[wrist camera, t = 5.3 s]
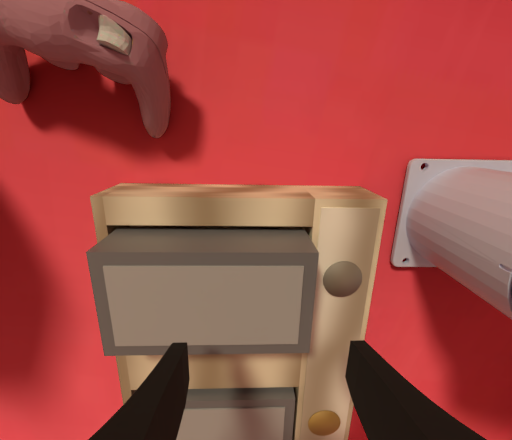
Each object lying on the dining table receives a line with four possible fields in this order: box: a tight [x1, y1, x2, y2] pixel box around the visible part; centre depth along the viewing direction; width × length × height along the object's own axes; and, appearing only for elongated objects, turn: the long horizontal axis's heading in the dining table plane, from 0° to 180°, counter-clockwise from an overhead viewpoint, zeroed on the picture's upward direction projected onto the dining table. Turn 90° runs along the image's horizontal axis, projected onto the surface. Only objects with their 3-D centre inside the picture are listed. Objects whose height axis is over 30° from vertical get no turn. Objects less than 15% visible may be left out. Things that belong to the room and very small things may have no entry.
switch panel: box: [90, 183, 387, 440], centre depth 21 cm, size 16×22×4 cm
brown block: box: [176, 387, 295, 440], centre depth 22 cm, size 11×6×4 cm, turn 89°
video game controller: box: [0, 0, 171, 138], centre depth 14 cm, size 10×5×7 cm, turn 77°
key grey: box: [86, 228, 319, 356], centre depth 16 cm, size 11×6×4 cm, turn 89°
